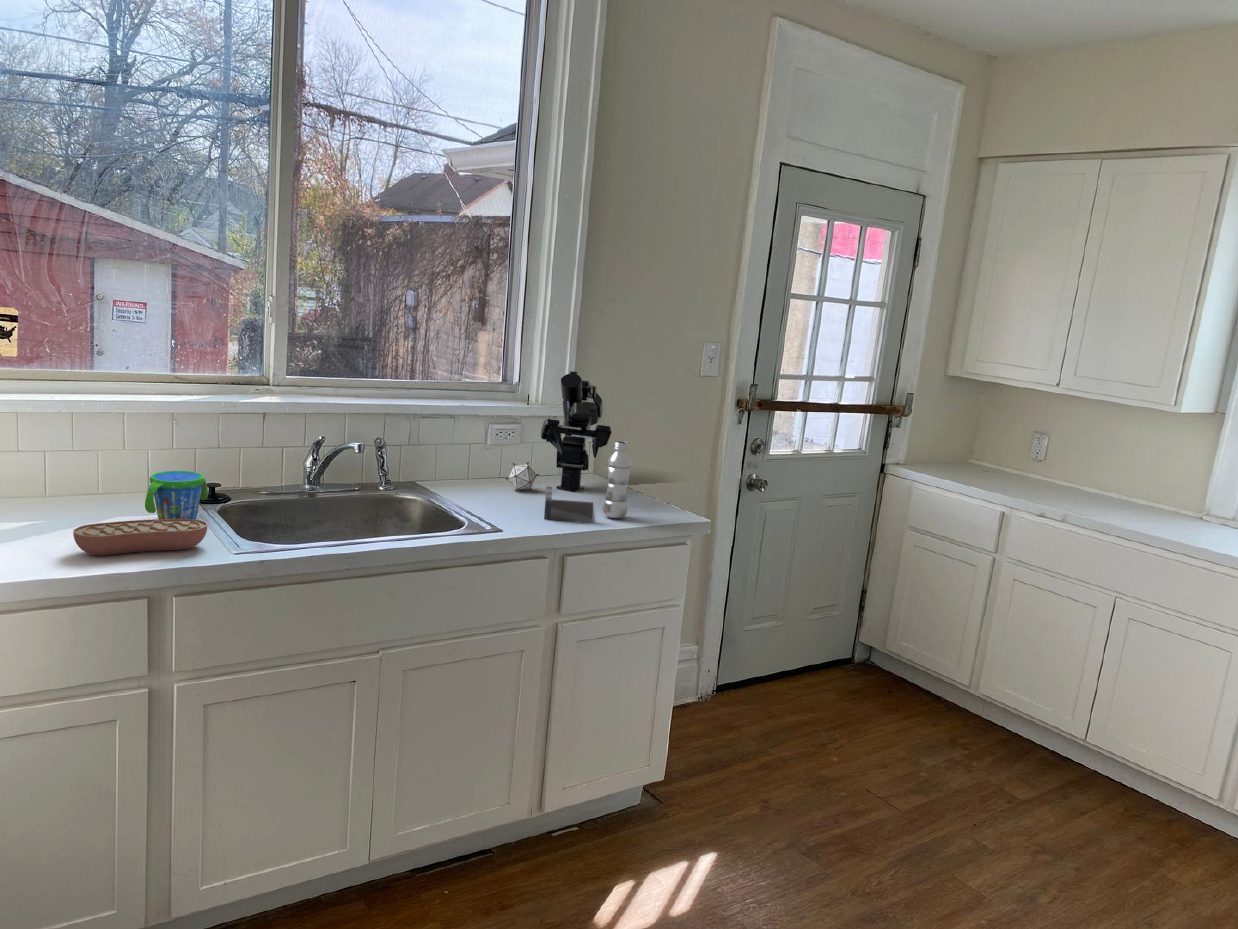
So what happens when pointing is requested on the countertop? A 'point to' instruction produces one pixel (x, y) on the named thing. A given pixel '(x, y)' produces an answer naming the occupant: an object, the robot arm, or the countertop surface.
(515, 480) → the game die
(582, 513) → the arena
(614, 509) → the plastic bottle
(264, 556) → the countertop surface
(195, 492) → the snack cup
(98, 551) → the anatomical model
